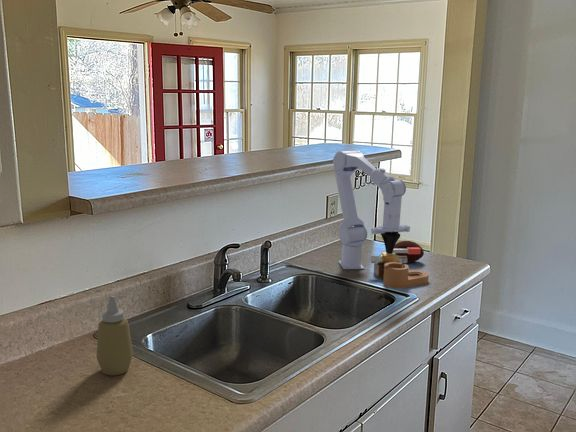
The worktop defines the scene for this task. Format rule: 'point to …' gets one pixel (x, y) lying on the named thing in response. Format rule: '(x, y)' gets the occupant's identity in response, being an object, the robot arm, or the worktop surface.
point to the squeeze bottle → (114, 341)
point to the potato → (409, 256)
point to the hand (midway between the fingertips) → (389, 252)
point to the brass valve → (384, 259)
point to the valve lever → (407, 250)
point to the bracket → (403, 276)
